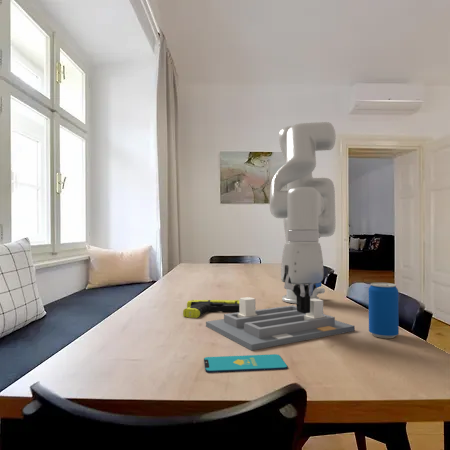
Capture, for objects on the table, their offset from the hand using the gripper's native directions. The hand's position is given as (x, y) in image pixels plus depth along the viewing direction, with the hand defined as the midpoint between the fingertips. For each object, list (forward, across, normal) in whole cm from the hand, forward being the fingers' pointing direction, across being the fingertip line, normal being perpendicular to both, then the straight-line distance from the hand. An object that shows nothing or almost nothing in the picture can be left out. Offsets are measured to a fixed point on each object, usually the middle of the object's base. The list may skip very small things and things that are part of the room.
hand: (303, 312), depth 92 cm
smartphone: (+6, +24, +12) cm, 27 cm away
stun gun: (+5, +10, -29) cm, 31 cm away
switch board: (+5, +4, -5) cm, 8 cm away
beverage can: (+5, -14, +12) cm, 19 cm away
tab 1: (+3, +10, -10) cm, 14 cm away
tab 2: (+3, -4, 0) cm, 5 cm away
